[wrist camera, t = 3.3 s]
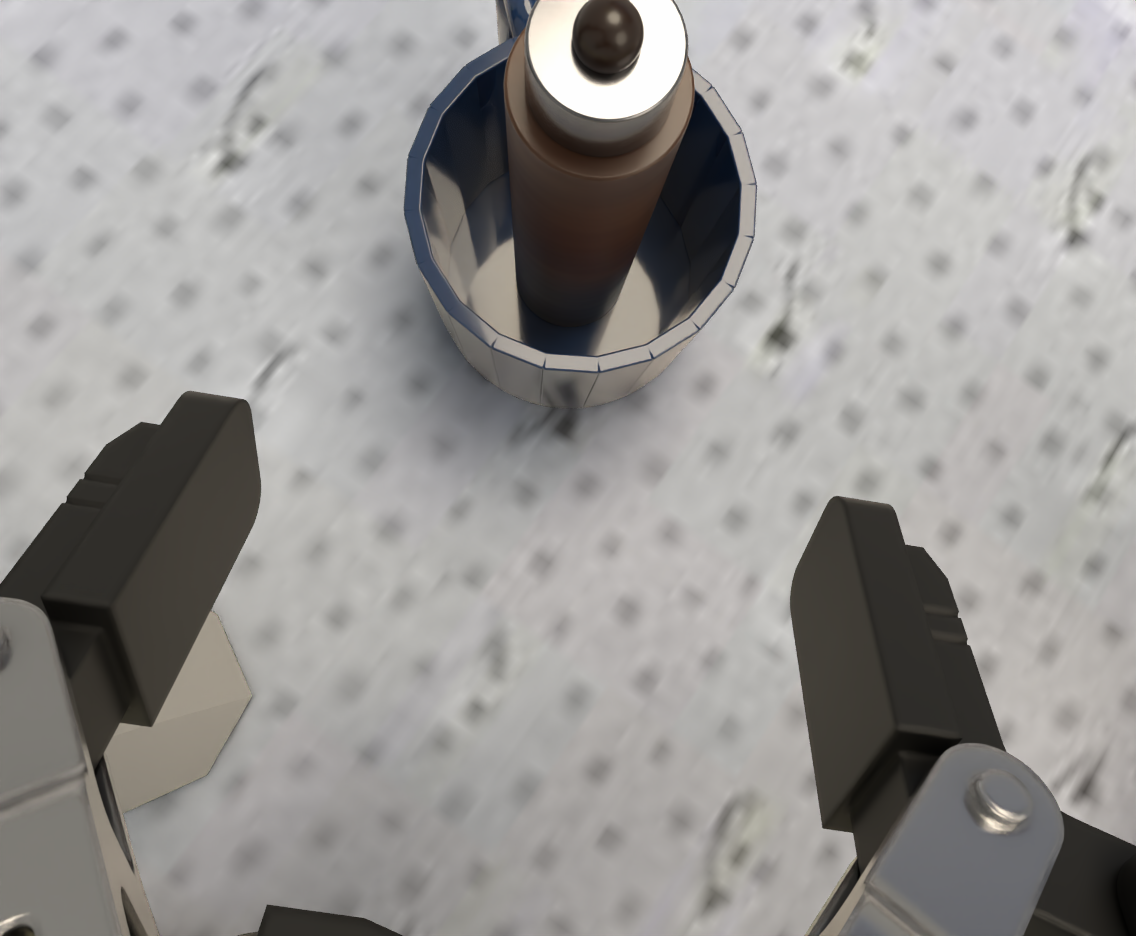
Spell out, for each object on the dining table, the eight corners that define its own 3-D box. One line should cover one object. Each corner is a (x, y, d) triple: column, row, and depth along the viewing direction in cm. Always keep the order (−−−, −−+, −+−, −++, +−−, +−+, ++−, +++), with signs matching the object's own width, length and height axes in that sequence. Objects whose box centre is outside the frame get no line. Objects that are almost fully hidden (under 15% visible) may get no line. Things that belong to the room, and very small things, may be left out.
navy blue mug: (727, 373, 29) (795, 324, 22) (473, 437, 29) (453, 409, 21) (636, 29, 30) (671, -135, 22) (384, 86, 29) (334, -62, 22)
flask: (146, 532, 28) (-69, 541, 18) (294, 695, 28) (162, 796, 18) (-27, 684, 27) (-346, 781, 17) (123, 851, 27) (-110, 1044, 17)
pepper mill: (496, 253, 28) (457, -33, 14) (590, 202, 29) (653, -133, 14) (549, 346, 28) (568, 163, 13) (643, 294, 28) (763, 58, 14)
